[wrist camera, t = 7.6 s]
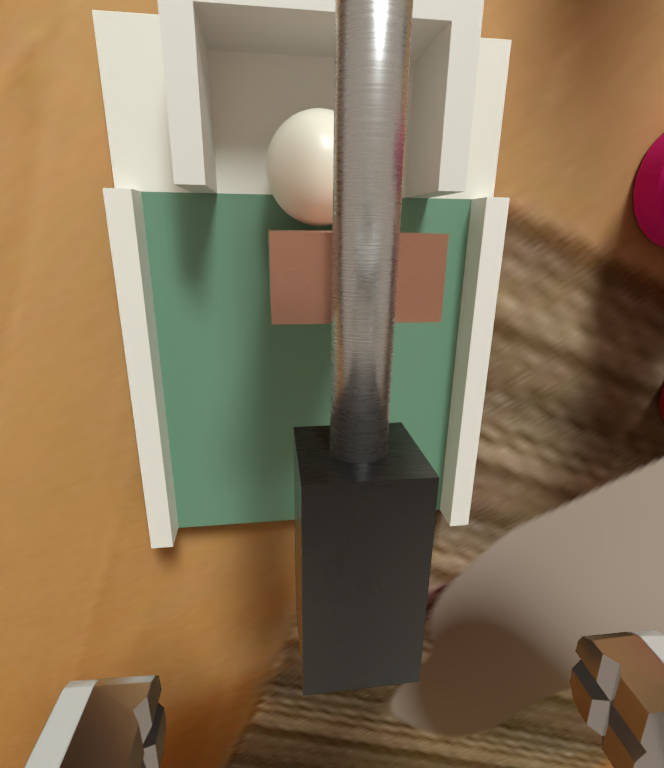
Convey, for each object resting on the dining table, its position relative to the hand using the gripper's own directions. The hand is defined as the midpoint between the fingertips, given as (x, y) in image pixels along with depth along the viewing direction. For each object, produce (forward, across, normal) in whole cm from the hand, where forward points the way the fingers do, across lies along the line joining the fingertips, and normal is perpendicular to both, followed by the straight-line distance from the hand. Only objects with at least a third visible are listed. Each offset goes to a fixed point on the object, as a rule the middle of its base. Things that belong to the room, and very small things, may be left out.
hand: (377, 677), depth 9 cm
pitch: (+16, 0, -5) cm, 17 cm away
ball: (+12, 0, -10) cm, 16 cm away
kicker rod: (+14, 0, -9) cm, 16 cm away
